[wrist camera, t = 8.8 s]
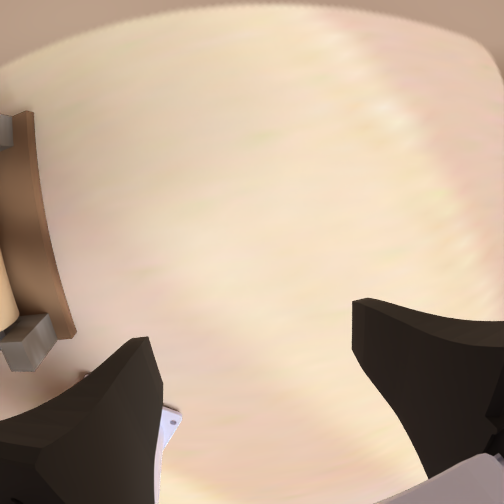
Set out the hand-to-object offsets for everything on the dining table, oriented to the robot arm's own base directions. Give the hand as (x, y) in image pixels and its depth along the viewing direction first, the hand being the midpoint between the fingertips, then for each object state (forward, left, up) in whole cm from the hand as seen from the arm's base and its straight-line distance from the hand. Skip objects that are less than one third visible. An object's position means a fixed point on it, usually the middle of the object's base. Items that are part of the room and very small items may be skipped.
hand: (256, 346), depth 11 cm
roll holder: (-6, +16, -9) cm, 20 cm away
